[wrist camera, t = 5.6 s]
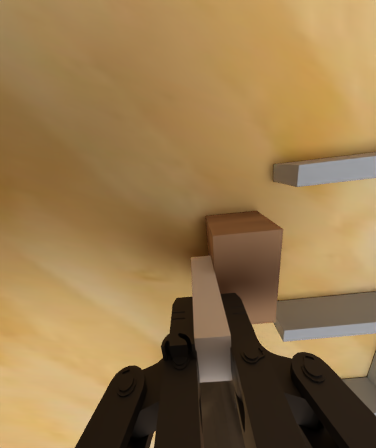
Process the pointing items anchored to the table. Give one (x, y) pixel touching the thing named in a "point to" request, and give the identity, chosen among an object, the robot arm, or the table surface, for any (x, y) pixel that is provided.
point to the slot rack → (339, 304)
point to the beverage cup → (220, 415)
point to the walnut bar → (247, 260)
